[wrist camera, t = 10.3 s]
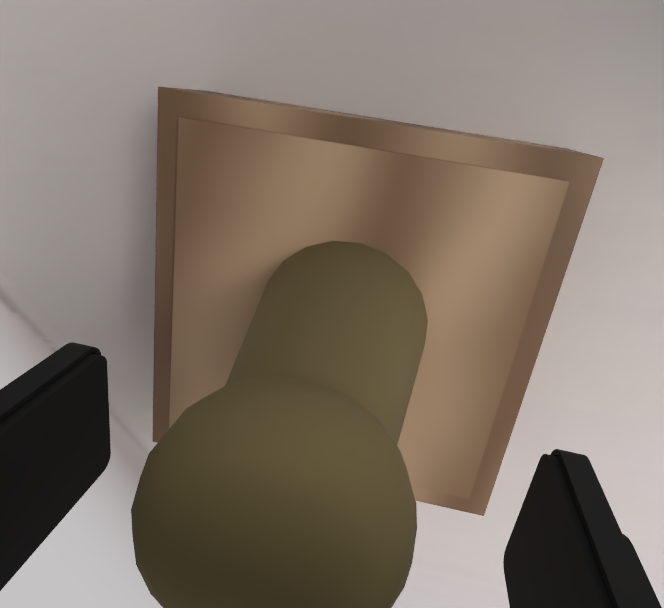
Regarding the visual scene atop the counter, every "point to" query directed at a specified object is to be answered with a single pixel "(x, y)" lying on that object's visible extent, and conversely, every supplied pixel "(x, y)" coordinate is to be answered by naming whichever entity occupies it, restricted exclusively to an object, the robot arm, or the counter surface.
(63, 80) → the counter surface
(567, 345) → the counter surface
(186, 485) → the olive tapered piece
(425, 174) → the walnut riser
